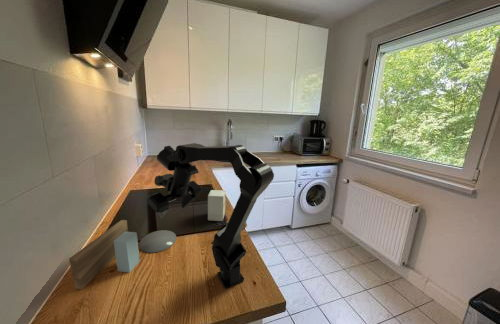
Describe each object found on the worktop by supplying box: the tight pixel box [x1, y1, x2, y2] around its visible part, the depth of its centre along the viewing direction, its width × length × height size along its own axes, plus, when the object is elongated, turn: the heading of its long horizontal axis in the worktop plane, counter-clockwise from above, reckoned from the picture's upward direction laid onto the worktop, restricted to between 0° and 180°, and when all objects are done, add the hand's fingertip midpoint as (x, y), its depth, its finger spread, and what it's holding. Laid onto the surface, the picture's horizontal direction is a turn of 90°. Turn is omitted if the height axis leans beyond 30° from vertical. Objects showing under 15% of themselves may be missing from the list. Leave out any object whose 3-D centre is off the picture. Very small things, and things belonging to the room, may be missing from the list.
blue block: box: [114, 231, 140, 273], centre depth 64 cm, size 4×5×11 cm
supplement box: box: [207, 189, 226, 222], centre depth 96 cm, size 7×7×13 cm
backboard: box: [68, 219, 129, 290], centre depth 65 cm, size 2×20×10 cm, turn 175°
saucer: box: [138, 229, 177, 254], centre depth 78 cm, size 13×13×1 cm
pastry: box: [225, 219, 248, 230], centre depth 90 cm, size 9×7×4 cm
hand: (172, 212), depth 73 cm, fingers open, 9 cm apart
